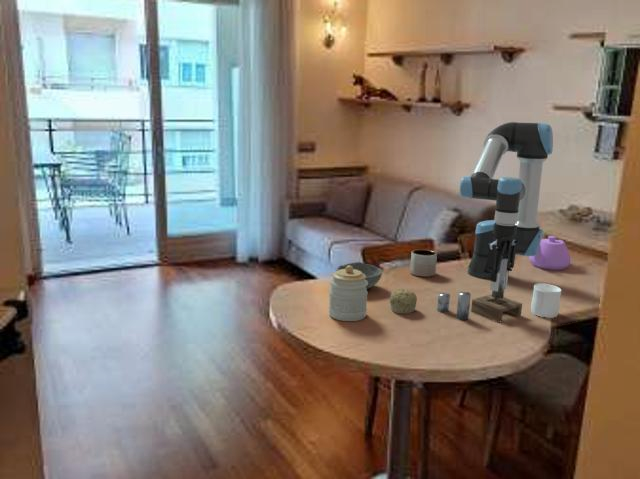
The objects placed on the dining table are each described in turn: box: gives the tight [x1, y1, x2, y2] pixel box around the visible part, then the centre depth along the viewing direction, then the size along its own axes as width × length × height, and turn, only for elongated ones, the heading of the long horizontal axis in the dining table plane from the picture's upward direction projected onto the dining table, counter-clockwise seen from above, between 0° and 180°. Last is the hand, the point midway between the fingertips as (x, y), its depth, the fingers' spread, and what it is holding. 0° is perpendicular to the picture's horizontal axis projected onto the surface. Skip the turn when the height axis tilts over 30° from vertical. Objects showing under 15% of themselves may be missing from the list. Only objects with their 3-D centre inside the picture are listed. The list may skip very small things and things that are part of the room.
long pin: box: [491, 257, 508, 299], centre depth 205 cm, size 4×4×14 cm
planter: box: [409, 248, 438, 278], centre depth 252 cm, size 11×11×10 cm
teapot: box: [528, 235, 571, 271], centre depth 270 cm, size 25×18×14 cm
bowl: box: [336, 261, 383, 290], centre depth 231 cm, size 18×18×8 cm
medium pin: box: [456, 291, 472, 322], centre depth 201 cm, size 4×4×9 cm
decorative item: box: [389, 288, 418, 314], centre depth 208 cm, size 10×10×10 cm
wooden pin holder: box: [470, 293, 523, 323], centre depth 208 cm, size 12×12×4 cm
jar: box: [328, 265, 368, 322], centre depth 200 cm, size 13×13×18 cm
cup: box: [530, 282, 562, 319], centre depth 208 cm, size 10×10×10 cm
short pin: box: [436, 292, 451, 313], centre depth 209 cm, size 4×4×6 cm
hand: (498, 289), depth 206 cm, fingers closed on long pin, 4 cm apart
